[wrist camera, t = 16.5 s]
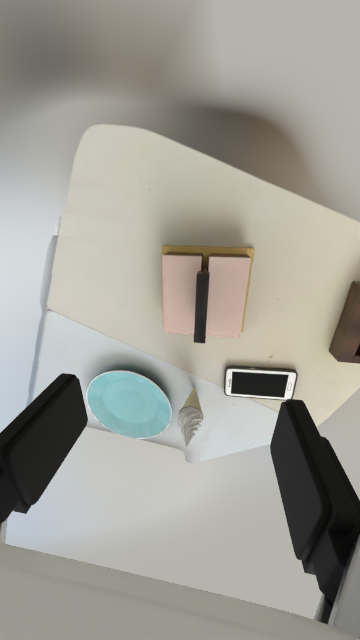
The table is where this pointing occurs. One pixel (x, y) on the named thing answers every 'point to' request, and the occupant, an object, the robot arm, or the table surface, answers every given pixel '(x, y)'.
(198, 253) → the cake
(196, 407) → the ice cream cone
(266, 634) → the robot arm
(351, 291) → the brown slotted box
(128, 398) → the plate
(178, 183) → the table surface
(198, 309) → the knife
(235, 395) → the cell phone
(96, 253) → the table surface
